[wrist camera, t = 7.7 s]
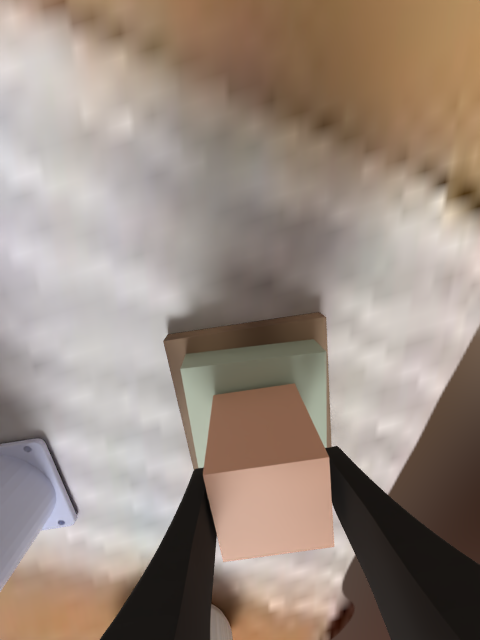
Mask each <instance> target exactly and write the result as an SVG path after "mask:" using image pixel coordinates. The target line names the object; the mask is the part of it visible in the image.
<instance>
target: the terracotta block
mask: <svg viewBox="0 0 480 640" xmlns="http://www.w3.org/2000/svg"><path fill="white" fill-rule="evenodd" d="M203 478H204V482H205V487H206V491H207V495H208V499H209V503H210V508H211V512H212V516H213V520H214V524H215V529H216V533H217V537H218V541H219V546H220V550H221V554H222V558H223V562H227V561H235V560H242V559H249V558H256V557H264V556H271V555H278V554H286V553H293V552H300V551H307V550H315V549H322V548H329V547H334V533H333V515H332V498H331V480H330V462H329V456H328V454H327V451H326V449H325V447H324V445H323V443H322V441H321V439H320V436H319V434H318V432H317V430H316V428H315V426H314V424H313V421H312V419H311V417H310V415H309V413H308V411H307V409H306V406H305V404H304V402H303V400H302V398H301V396H300V394H299V391H298V389H297V387H296V385H295V383H294V384H287V385H280V386H273V387H266V388H259V389H252V390H246V391H239V392H232V393H225V394H218V395H213V401H212V408H211V416H210V424H209V431H208V439H207V447H206V454H205V462H204V470H203Z"/></svg>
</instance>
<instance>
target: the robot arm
mask: <svg viewBox="0 0 480 640" xmlns="http://www.w3.org/2000/svg"><path fill="white" fill-rule="evenodd" d="M30 447H31V448H30ZM325 449H326V451H327V454H328V456H329V462H330V480H331V498H332V504H333V506H334V509H335V512H336V514H337V516H338V518H339V520H340V522H341V525H342V527H343V529H344V531H345V533H346V535H347V537H348V539H349V542H350V544H351V546H352V548H353V550H354V552H355V554H356V556H357V559H358V561H359V563H360V565H361V567H362V569H363V571H364V573H365V576H366V578H367V580H368V582H369V585H370V587H371V589H372V592H373V594H374V597H375V599H376V602H377V604H378V607H379V609H380V612H381V615H382V617H383V620H384V622H385V625H386V627H387V630H388V633H389V635H390V638H391V640H480V565H479V564H478V563H476V562H475V561H473V560H472V559H470V558H469V557H467V556H466V555H464V554H463V553H461V552H460V551H458V550H457V549H456V548H454V547H453V546H451V545H450V544H449V543H447V542H446V541H445V540H443V539H442V538H440V537H439V536H438V535H436V534H435V533H434V532H432V531H431V530H430V529H428V528H427V527H426V526H425V525H423V524H422V523H421V522H419V521H418V520H417V519H416V518H414V517H413V516H412V515H410V514H409V513H408V512H407V511H406V510H405V509H403V508H402V507H401V506H400V505H399V504H398V503H396V502H395V501H394V500H393V499H392V498H391V497H389V496H388V495H387V494H386V493H385V492H384V491H383V490H382V489H381V488H380V487H378V486H377V485H376V484H375V483H374V482H373V481H372V480H371V479H370V478H369V477H368V476H367V475H366V474H365V473H364V472H363V471H362V470H361V469H359V468H358V467H357V466H356V465H355V464H354V463H353V462H352V460H351V459H350V458H349V457H348V456H347V455H346V454H345V453H344V452H343V451H342V450H341V449H340V448H339V447H337V446H335V447H329V448H325ZM203 470H204V467H203V468H197V469H195V470H194V471H193V474H192V477H191V479H190V482H189V484H188V487H187V489H186V492H185V494H184V496H183V499H182V501H181V503H180V505H179V507H178V510H177V512H176V514H175V516H174V518H173V520H172V522H171V524H170V526H169V528H168V530H167V532H166V534H165V536H164V538H163V540H162V542H161V544H160V546H159V548H158V549H157V551H156V553H155V555H154V557H153V558H152V560H151V562H150V564H149V565H148V567H147V569H146V570H145V572H144V574H143V575H142V577H141V579H140V580H139V582H138V584H137V585H136V587H135V588H134V590H133V591H132V593H131V595H130V596H129V598H128V599H127V601H126V602H125V604H124V605H123V607H122V608H121V610H120V611H119V613H118V614H117V616H116V617H115V619H114V620H113V622H112V623H111V625H110V626H109V627H108V629H107V630H106V632H105V633H104V634H103V636H102V637H101V639H100V640H210V619H211V600H212V588H213V575H214V563H215V550H216V537H217V533H216V529H215V524H214V520H213V516H212V512H211V508H210V503H209V499H208V495H207V491H206V487H205V482H204V478H203ZM76 520H77V515H76V512H75V510H74V508H73V505H72V503H71V501H70V499H69V496H68V494H67V492H66V489H65V487H64V485H63V482H62V480H61V478H60V475H59V473H58V471H57V469H56V466H55V464H54V462H53V459H52V457H51V455H50V452H49V450H48V448H47V445H46V443H45V442H44V441H43V440H42V439H39V438H36V439H29V440H23V441H16V442H10V443H3V444H0V591H1V590H2V588H3V587H4V585H5V584H6V582H7V581H8V579H9V578H10V576H11V575H12V573H13V572H14V570H15V569H16V567H17V566H18V564H19V563H20V561H21V560H22V558H23V557H24V555H25V554H26V552H27V551H28V549H29V547H30V546H31V544H32V543H33V541H34V540H35V538H36V537H37V535H38V534H39V532H40V531H41V530H47V529H53V528H60V527H66V526H71V525H73V524H74V523H75V521H76Z"/></svg>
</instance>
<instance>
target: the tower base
mask: <svg viewBox="0 0 480 640" xmlns="http://www.w3.org/2000/svg"><path fill="white" fill-rule="evenodd" d="M311 339H314V340H315V341H316V342H317V343H318V344H319V345H320V346H321V347H322V348H323V349H324V350H325V351H326V399H327V448H329V447H331V425H330V401H329V377H328V353H327V328H326V317H325V316H324V315H322V314H321V313H319V312H316V313H310V314H303V315H296V316H289V317H283V318H276V319H269V320H262V321H255V322H249V323H242V324H235V325H228V326H222V327H215V328H208V329H201V330H194V331H188V332H181V333H174V334H168V335H167V337H166V338H165V340H164V341H163V342H164V346H165V350H166V354H167V359H168V363H169V367H170V371H171V375H172V380H173V384H174V388H175V392H176V397H177V401H178V405H179V409H180V413H181V418H182V422H183V426H184V430H185V435H186V439H187V443H188V447H189V451H190V456H191V460H192V464H193V468H194V470H195V469H197V468H198V463H197V457H196V452H195V446H194V441H193V436H192V430H191V425H190V419H189V414H188V408H187V403H186V397H185V392H184V386H183V381H182V375H181V370H180V369H181V366H182V363H183V360H184V358H185V355H186V354H190V353H199V352H207V351H216V350H225V349H233V348H242V347H250V346H259V345H267V344H276V343H285V342H293V341H302V340H311Z"/></svg>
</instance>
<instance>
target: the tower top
mask: <svg viewBox="0 0 480 640" xmlns="http://www.w3.org/2000/svg"><path fill="white" fill-rule="evenodd" d="M180 370H181V375H182V381H183V386H184V392H185V397H186V403H187V408H188V414H189V419H190V425H191V430H192V436H193V441H194V446H195V452H196V457H197V463H198V468H203V467H204V462H205V454H206V447H207V439H208V431H209V424H210V416H211V408H212V401H213V395H218V394H225V393H232V392H239V391H246V390H252V389H259V388H266V387H273V386H280V385H287V384H294V383H295V385H296V387H297V389H298V391H299V394H300V396H301V398H302V400H303V402H304V404H305V406H306V409H307V411H308V413H309V415H310V417H311V419H312V421H313V424H314V426H315V428H316V430H317V432H318V434H319V436H320V439H321V441H322V443H323V445H324V447H325V448H327V399H326V351H325V350H324V349H323V348H322V347H321V346H320V345H319V344H318V343H317V342H316V341H315V340H314V339H311V340H302V341H293V342H285V343H276V344H267V345H259V346H250V347H242V348H233V349H225V350H216V351H207V352H199V353H190V354H186V355H185V358H184V360H183V363H182V366H181V369H180Z"/></svg>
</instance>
